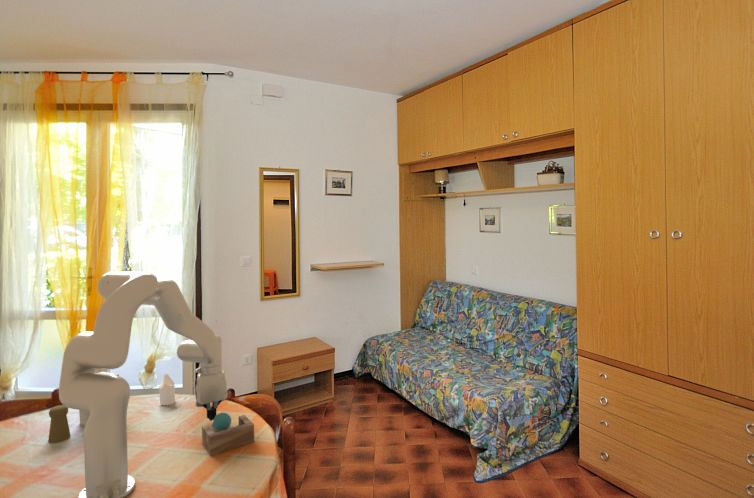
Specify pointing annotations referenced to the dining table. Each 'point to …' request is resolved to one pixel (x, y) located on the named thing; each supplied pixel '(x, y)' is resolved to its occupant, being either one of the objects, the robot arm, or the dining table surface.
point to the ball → (222, 421)
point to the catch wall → (228, 436)
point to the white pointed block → (167, 391)
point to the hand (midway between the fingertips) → (211, 418)
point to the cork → (58, 424)
